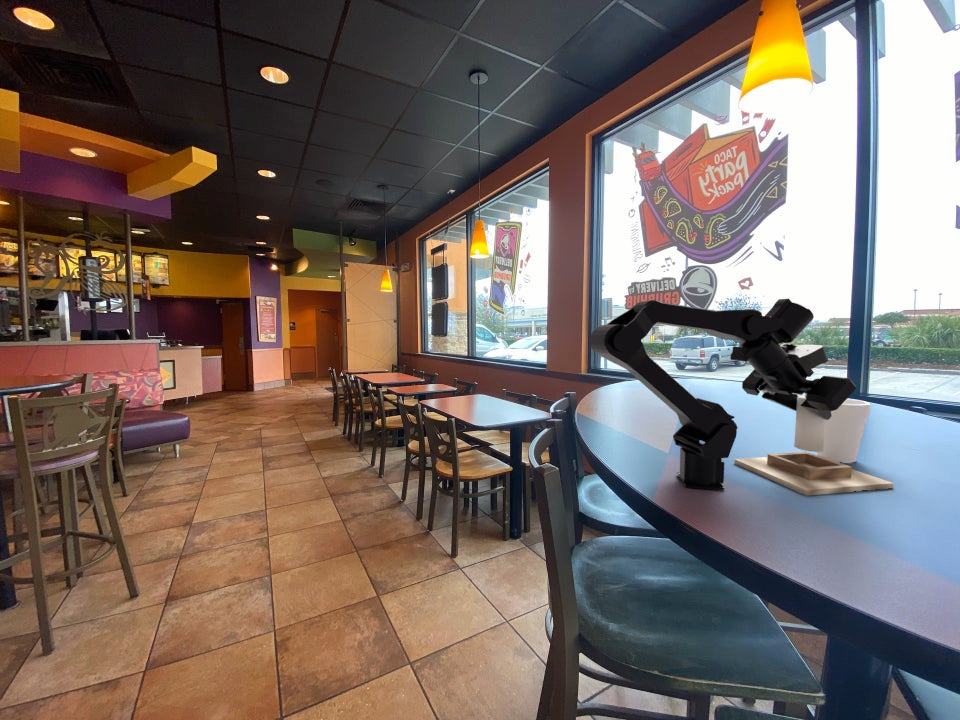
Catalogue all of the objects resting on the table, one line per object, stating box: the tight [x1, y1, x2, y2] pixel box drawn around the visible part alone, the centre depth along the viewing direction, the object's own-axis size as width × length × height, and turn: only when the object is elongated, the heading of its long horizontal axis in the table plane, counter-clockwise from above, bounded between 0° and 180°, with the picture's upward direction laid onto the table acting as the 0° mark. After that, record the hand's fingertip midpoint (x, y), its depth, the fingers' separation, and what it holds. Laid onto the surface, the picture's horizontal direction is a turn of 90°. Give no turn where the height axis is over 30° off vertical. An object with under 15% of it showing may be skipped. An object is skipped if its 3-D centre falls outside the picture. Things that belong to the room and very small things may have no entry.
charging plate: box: [734, 451, 895, 496], centre depth 76 cm, size 18×16×3 cm
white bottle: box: [793, 395, 826, 453], centre depth 75 cm, size 4×4×11 cm
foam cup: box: [816, 398, 871, 464], centre depth 85 cm, size 10×9×13 cm
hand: (816, 415), depth 75 cm, fingers closed on white bottle, 4 cm apart
